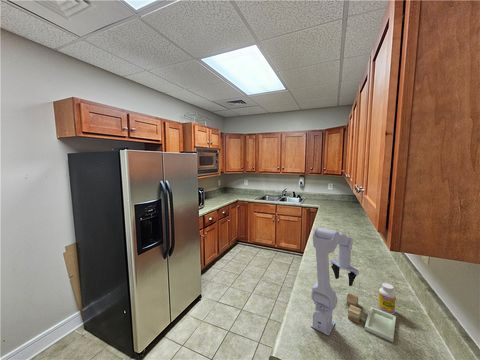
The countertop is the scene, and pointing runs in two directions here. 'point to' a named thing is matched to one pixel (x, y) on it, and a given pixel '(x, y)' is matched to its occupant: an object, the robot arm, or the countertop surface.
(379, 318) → the tray
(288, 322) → the countertop surface
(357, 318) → the cube
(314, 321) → the robot arm
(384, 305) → the supplement bottle
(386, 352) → the countertop surface
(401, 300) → the countertop surface
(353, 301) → the cube
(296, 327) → the countertop surface
